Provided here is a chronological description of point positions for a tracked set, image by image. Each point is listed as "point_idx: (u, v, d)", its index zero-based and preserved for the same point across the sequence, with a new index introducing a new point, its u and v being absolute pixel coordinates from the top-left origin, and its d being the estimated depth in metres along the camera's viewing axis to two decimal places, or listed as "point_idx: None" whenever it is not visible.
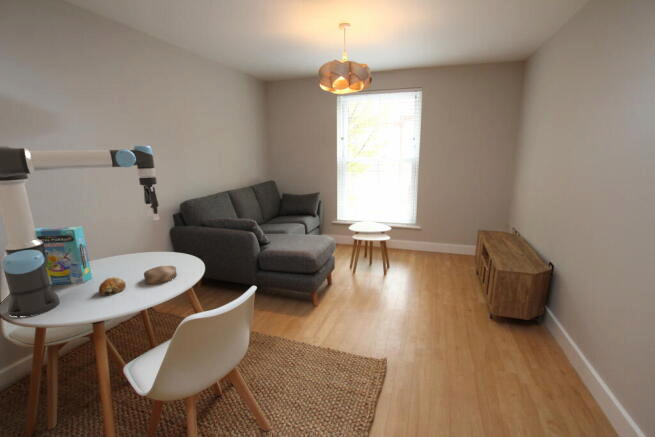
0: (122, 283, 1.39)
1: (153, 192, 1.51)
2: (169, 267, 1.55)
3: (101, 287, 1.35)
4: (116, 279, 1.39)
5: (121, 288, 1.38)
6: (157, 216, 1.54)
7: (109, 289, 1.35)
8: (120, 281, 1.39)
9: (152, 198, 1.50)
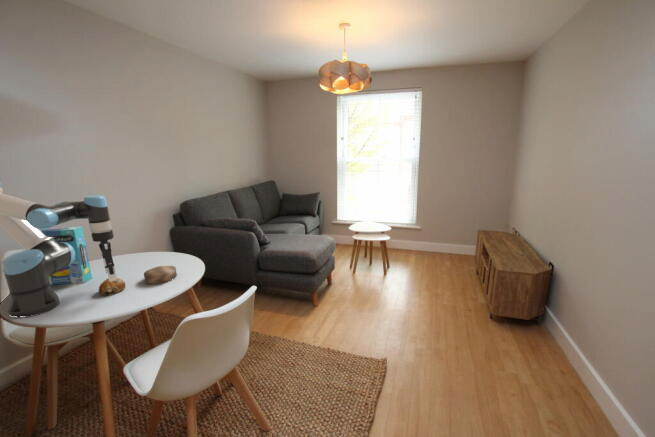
0: (122, 283, 1.39)
1: (108, 250, 1.30)
2: (169, 267, 1.55)
3: (101, 287, 1.35)
4: None
5: (121, 288, 1.38)
6: (114, 276, 1.32)
7: (109, 289, 1.34)
8: (120, 281, 1.39)
9: (106, 257, 1.29)
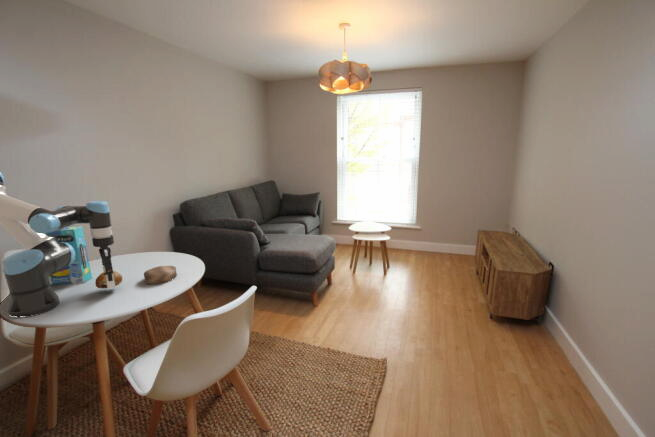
0: (119, 276, 1.38)
1: (108, 257, 1.30)
2: (169, 267, 1.55)
3: (97, 280, 1.34)
4: (113, 272, 1.38)
5: (118, 281, 1.37)
6: (112, 283, 1.34)
7: (106, 282, 1.33)
8: (117, 274, 1.38)
9: (106, 264, 1.30)
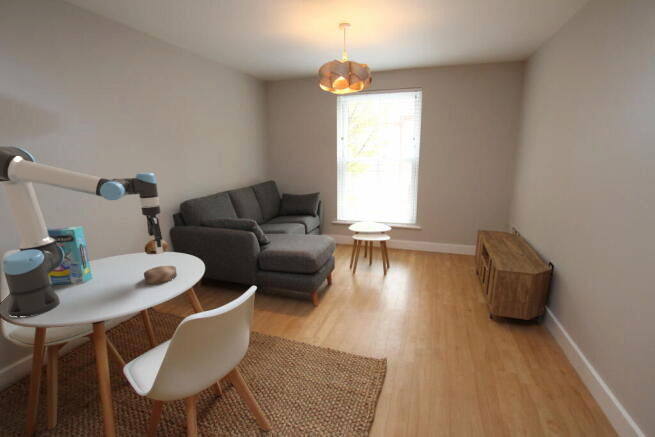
0: (165, 244, 1.48)
1: (157, 224, 1.41)
2: (169, 267, 1.55)
3: (147, 247, 1.44)
4: None
5: (165, 248, 1.47)
6: (161, 249, 1.44)
7: (155, 248, 1.44)
8: (164, 242, 1.48)
9: (156, 231, 1.40)
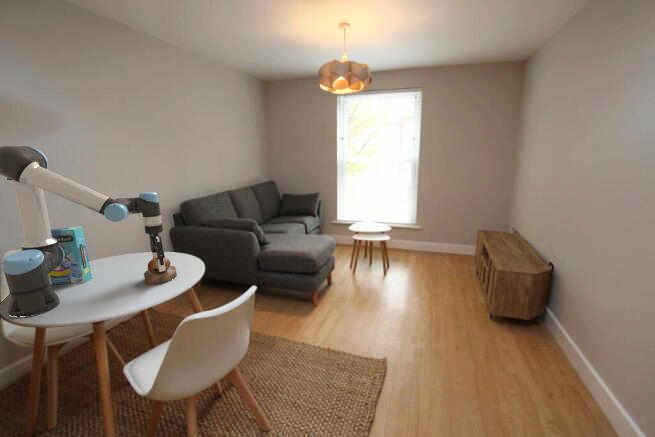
0: (168, 261, 1.50)
1: (159, 243, 1.43)
2: (169, 267, 1.55)
3: (150, 264, 1.46)
4: None
5: (167, 266, 1.49)
6: (163, 267, 1.46)
7: (157, 266, 1.46)
8: (166, 259, 1.50)
9: (158, 250, 1.42)
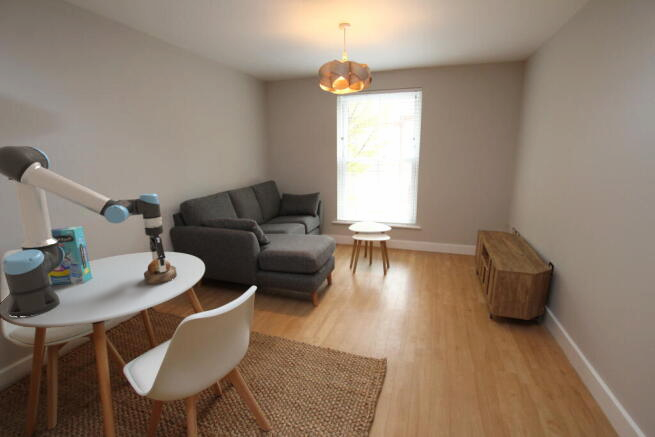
0: (168, 264, 1.50)
1: (160, 243, 1.43)
2: None
3: (150, 267, 1.46)
4: None
5: (167, 268, 1.49)
6: (164, 268, 1.45)
7: (157, 269, 1.46)
8: (166, 262, 1.50)
9: (159, 250, 1.41)
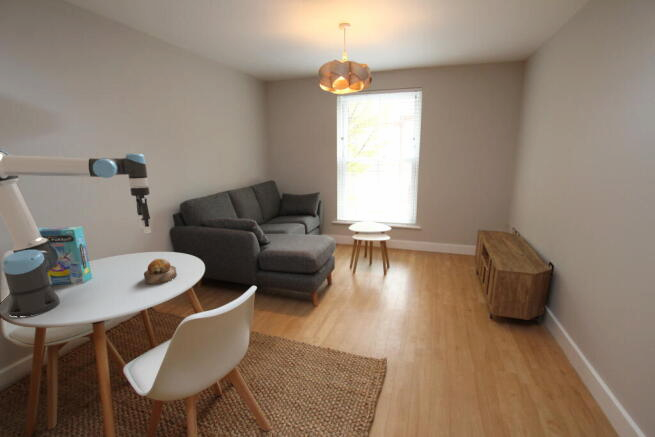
0: (168, 264, 1.50)
1: (145, 204, 1.41)
2: None
3: (150, 267, 1.46)
4: (163, 260, 1.50)
5: (167, 268, 1.49)
6: (148, 229, 1.44)
7: (157, 269, 1.46)
8: (166, 262, 1.50)
9: (143, 210, 1.40)
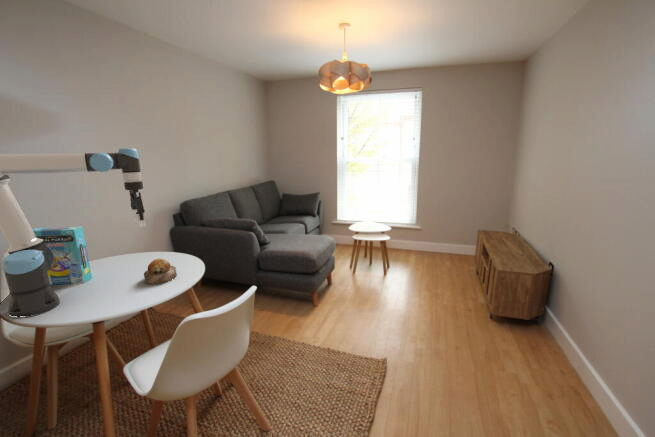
0: (168, 264, 1.50)
1: (139, 197, 1.43)
2: None
3: (150, 267, 1.46)
4: (163, 260, 1.50)
5: (167, 268, 1.49)
6: (143, 223, 1.46)
7: (157, 269, 1.46)
8: (166, 262, 1.50)
9: (138, 204, 1.42)
